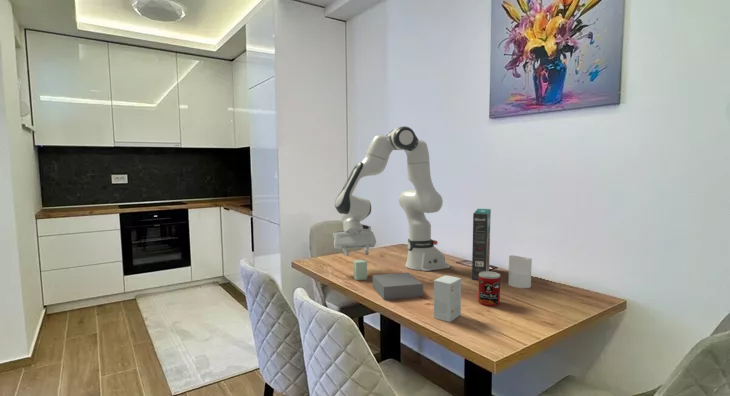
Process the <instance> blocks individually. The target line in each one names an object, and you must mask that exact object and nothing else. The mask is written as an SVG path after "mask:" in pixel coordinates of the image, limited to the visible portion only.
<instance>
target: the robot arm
mask: <svg viewBox="0 0 730 396" xmlns="http://www.w3.org/2000/svg"><path fill="white" fill-rule="evenodd" d="M371 140H372V141H371V142H370V144H369V147H368V148H367V152H366V154H365V156H364V158H363V159H362V160H361V161H360V162H358V163H356V164H355V166H354V167H353V169H352V170H351V172H350V174H349V176H348V178H347V180H346V181H345V184H344V185H343V188H342V189H341V190H340V192H339V193H338V195H337V196H336V198H335V201H334V207H335V209H336V211H337V213H338V214H341V221H342V224H343V225H342V228H343V230H335V231H334V232H333V233H332V239H333V247H334V248H335V249H336V250H338V249H339V250H341V251H342V252H343V253H344V255H345V256H346V257H347V256H348V257H349V255H350V251H349V250H347V249H361V248H362V249H363V248H364V249H365V250H364V256H368V255H369V250H370V248H375V246H376V244H377V240H376V236H375V234H374V232H373V230H372V226H370V225H367V224H363V223H361V221H364V220H365V219H367V218H368V217H369V216H370V215H371V213H372V203H371V201H370V200H368V199H366V198H364V197H360V196H356V195H354V194H353V193H354V191H355V189H356V187H357V185H358V183H359V182H360V180H361V179H363V178H365V177H368V176H369V177H370V176H377V175H380V174H381V173H382V172H384V171H385V169H386V166H387V164H388V161H389V158H390V155H391V154H392V152H393V151H404V152H405V154H406V159H407V160H406V162H407V164H406V165H407V166H406V167H407V168H406V169H407V178H408V181H409V182H410V183H412V186H413V187H414V189H408V190H404V191H402V192H401V193H400V194H399V199H398V202H399V203H398V204H399V206H400V207H401V208H402V209H403V211H404V214H405V216H406V219H407V223H408V238H407V250H408V251H407V257H406V263H405V267H406V268H408V269H410V270H415V271H416V270H418V271H423V272H431V271H436V270H437V271H438V270H444V269H450V268H451V265H450V263H448V262H447V261H446V255H445V254H444V253H443V252H442V251H441V250H439V248H437V247H435V245H436V246H437V245H438V243H439V242H438V240H435V239H434V240H433V239H432V236H431V235H432V224H431V222H430V221H429V220H428V219H427V218H426V215H425V214H432V213H437V212H438V213H439V211H440V210H441V209H442V207H443V202H444V201H443V197H442V195H441V194H440V193H439V192H438V191H437V190H436V188H435V186H434V184H433V182H432V177H431V164H430V161H431V160H430V154H429V153H430V152H429V148H428V144H427V143H426V141H424V140H420V139H419V138H418V137H417V135H416V133H415V131H414V130H413V128H411V127H409V126H399V127H396V128H394V129H392V130H391V131H389V133H387V134H386V135H384V134H377V135H375V136H374V137H373V139H371Z"/></svg>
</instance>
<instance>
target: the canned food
mask: <svg viewBox="0 0 730 396" xmlns="http://www.w3.org/2000/svg"><path fill="white" fill-rule="evenodd" d="M477 288H478V291H477V294H478V295H477V297H478V299H477V300H478V303H479V304H480V305H482V306H484V307H497V306H499V305H500V302H501V301H500V299H501V298H500V297H501V273H498V272H496V271H490V270H489V271H483V272H480V273H479V280H478V287H477Z"/></svg>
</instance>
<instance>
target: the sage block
mask: <svg viewBox="0 0 730 396" xmlns="http://www.w3.org/2000/svg"><path fill="white" fill-rule="evenodd" d="M353 278H354V280H356V281H362V280H368V262H367V260H366V259H354V260H353Z"/></svg>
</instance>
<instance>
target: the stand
mask: <svg viewBox="0 0 730 396" xmlns="http://www.w3.org/2000/svg"><path fill="white" fill-rule="evenodd" d="M372 288H373V290H375V292H377V294H378V295H379V296H380V297H381V298H382V300H383V301H384V300H385V301H387V300H396V299H407V298H408V299H409V298H416V297H417V298H419V297H423V295H424V283H422V282H421V281H420V280H419V279H417V278H416V277H415V276H413V275H412V274H410V273H409V272H402V273H390V274H389V273H386V274H375V275H372Z"/></svg>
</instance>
